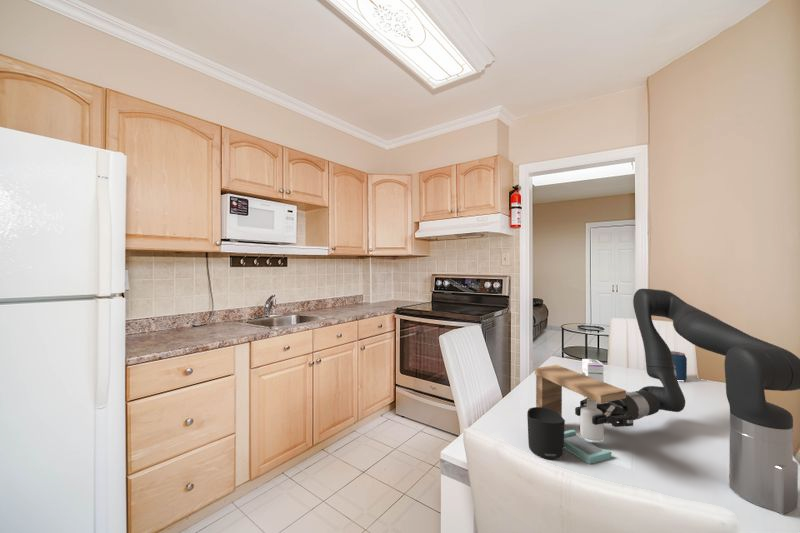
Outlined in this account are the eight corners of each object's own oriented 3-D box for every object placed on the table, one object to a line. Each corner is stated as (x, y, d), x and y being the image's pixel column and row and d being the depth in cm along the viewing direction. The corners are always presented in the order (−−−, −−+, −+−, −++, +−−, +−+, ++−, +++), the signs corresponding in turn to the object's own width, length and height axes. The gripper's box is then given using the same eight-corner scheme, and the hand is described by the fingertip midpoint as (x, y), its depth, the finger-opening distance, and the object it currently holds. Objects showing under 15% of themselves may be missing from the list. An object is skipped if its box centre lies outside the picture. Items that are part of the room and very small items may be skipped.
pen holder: (521, 450, 87) (521, 414, 87) (535, 437, 93) (535, 404, 93) (557, 466, 80) (557, 427, 80) (569, 450, 87) (569, 414, 87)
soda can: (684, 378, 142) (684, 352, 142) (688, 383, 136) (688, 356, 136) (664, 375, 146) (664, 350, 146) (667, 380, 140) (667, 353, 140)
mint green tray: (611, 457, 84) (611, 451, 84) (589, 464, 81) (589, 457, 81) (572, 434, 95) (572, 429, 95) (552, 439, 92) (552, 434, 92)
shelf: (625, 463, 81) (625, 390, 81) (600, 471, 78) (600, 395, 78) (556, 423, 102) (557, 364, 102) (534, 428, 99) (535, 367, 99)
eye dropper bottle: (584, 430, 93) (584, 390, 93) (605, 438, 89) (605, 396, 89) (578, 435, 90) (578, 394, 90) (600, 444, 86) (600, 401, 86)
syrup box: (604, 402, 117) (604, 363, 117) (587, 400, 119) (587, 362, 119) (598, 396, 123) (598, 359, 123) (581, 394, 124) (581, 358, 124)
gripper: (604, 385, 101) (563, 393, 95) (652, 404, 87) (608, 414, 82) (604, 408, 101) (563, 417, 95) (652, 431, 87) (608, 443, 82)
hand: (584, 416), depth 89 cm, fingers closed on eye dropper bottle, 5 cm apart
